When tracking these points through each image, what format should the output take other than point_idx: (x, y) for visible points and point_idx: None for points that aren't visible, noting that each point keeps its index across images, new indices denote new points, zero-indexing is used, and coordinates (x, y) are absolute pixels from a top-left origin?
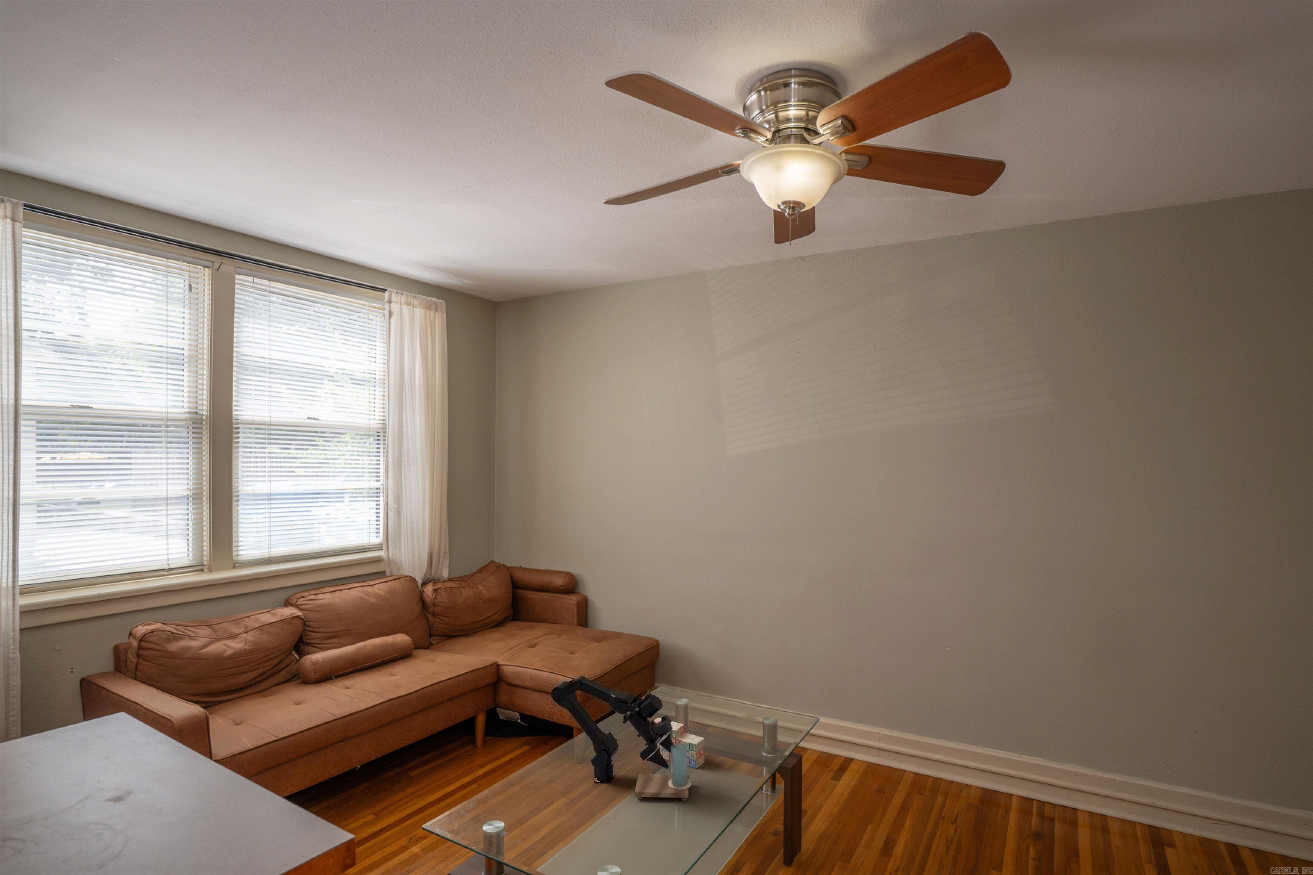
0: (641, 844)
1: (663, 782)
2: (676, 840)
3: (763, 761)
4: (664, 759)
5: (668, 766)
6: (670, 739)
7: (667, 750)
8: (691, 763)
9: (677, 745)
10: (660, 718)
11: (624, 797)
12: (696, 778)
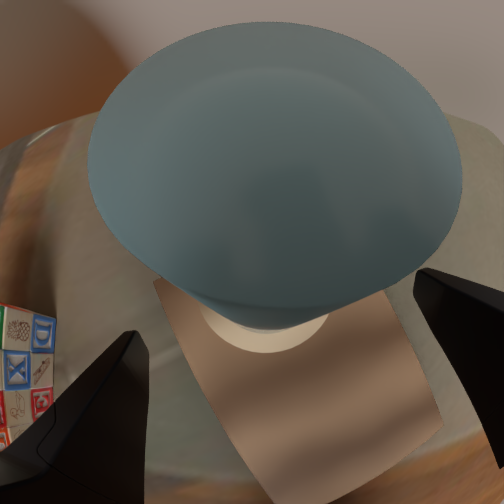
0: None
1: (304, 375)
2: (476, 165)
3: (9, 160)
4: (482, 299)
5: (428, 268)
6: (21, 467)
7: (144, 458)
8: (44, 340)
9: (222, 148)
10: None
11: (417, 461)
12: (116, 282)
